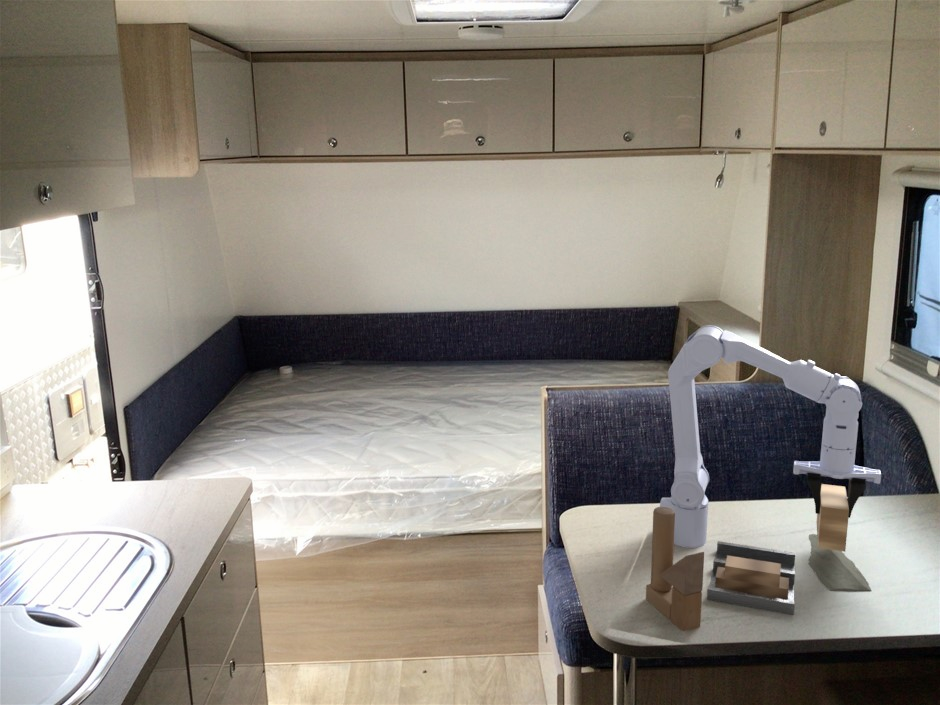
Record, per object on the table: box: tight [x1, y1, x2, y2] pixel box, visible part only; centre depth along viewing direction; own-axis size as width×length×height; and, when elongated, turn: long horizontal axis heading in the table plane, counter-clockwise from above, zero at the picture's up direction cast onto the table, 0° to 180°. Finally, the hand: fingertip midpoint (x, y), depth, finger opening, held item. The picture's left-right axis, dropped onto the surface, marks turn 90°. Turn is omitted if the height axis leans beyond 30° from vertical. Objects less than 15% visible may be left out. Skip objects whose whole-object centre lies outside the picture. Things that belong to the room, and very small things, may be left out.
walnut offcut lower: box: [715, 567, 789, 600], centre depth 140 cm, size 12×4×2 cm, turn 68°
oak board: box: [815, 483, 849, 553], centre depth 148 cm, size 12×4×8 cm, turn 158°
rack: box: [706, 540, 796, 616], centre depth 143 cm, size 14×19×3 cm
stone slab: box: [808, 533, 872, 592], centre depth 150 cm, size 22×3×10 cm
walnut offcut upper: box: [725, 555, 781, 588], centre depth 139 cm, size 9×4×2 cm, turn 68°
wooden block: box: [645, 506, 705, 632], centre depth 132 cm, size 4×11×18 cm, turn 22°
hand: (832, 513), depth 147 cm, fingers closed on oak board, 4 cm apart
